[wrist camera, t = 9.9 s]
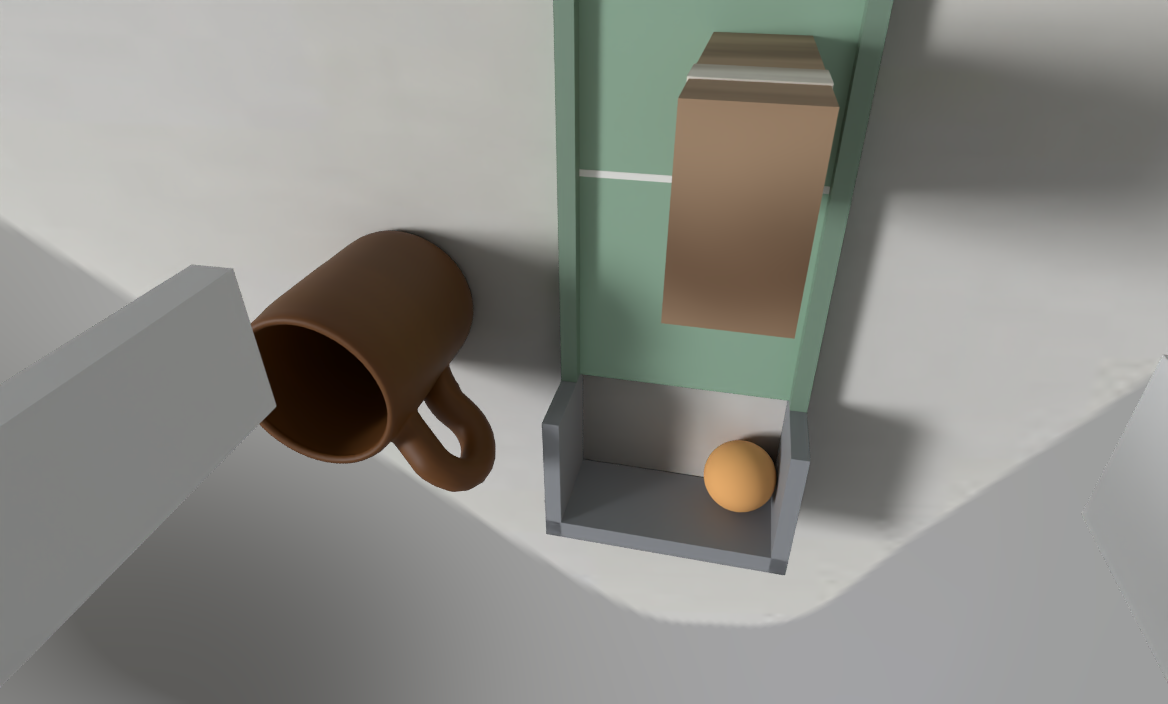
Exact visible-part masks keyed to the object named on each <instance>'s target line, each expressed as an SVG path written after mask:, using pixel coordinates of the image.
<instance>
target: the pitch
mask: <svg viewBox="0 0 1168 704" xmlns="http://www.w3.org/2000/svg"><path fill="white" fill-rule="evenodd" d="M893 1H894V0H553V15H554V62H555V108H556V154H557V201H558V247H559V293H560V340H561V383H560V385H559V387H558V389H557V391H556V394H555V396H554V398H553V400H552V402H551V405H550V407H549V409H548V411H547V413H546V416H545V418H544V420H543V422H542V438H543V463H544V487H545V511H546V534H550V535H555V536H561V537H567V538H573V539H578V540H584V541H590V542H596V543H601V544H607V545H613V546H619V547H624V548H630V549H636V550H642V551H648V552H653V553H659V554H665V555H671V556H676V557H682V558H688V559H694V560H699V561H705V562H711V563H717V564H722V565H728V566H734V567H740V568H745V569H751V570H757V571H763V572H768V573H774V574H780V575H785V573H786V569H787V564H788V560H789V555H790V551H791V546H792V542H793V537H794V533H795V528H796V524H797V520H798V515H799V511H800V506H801V502H802V497H803V493H804V488H805V484H806V479H807V475H808V470H809V466H810V449H809V434H808V420H807V410H808V405H809V401H810V396H811V391H812V386H813V382H814V377H815V372H816V367H817V363H818V358H819V353H820V348H821V344H822V339H823V334H824V329H825V324H826V320H827V315H828V310H829V305H830V301H831V296H832V291H833V286H834V282H835V277H836V272H837V267H838V263H839V258H840V253H841V248H842V244H843V239H844V234H845V229H846V224H847V220H848V215H849V210H850V205H851V201H852V196H853V191H854V186H855V182H856V177H857V172H858V167H859V163H860V158H861V153H862V148H863V144H864V139H865V134H866V129H867V124H868V120H869V115H870V110H871V105H872V101H873V96H874V91H875V86H876V82H877V77H878V72H879V67H880V63H881V58H882V53H883V48H884V44H885V39H886V34H887V29H888V25H889V20H890V15H891V10H892V5H893ZM713 32H731V33H757V34H784V35H810V36H813V37H814V40H815V43H816V45H817V48H818V51H819V53H820V56H821V59H822V62H823V64H824V67H825V70H829V72H830V75H831V78H832V80H833V83H834V86H833V91H834V94H835V97H836V99H837V102H838V105H839V112H838V117H837V122H836V127H835V132H834V138H833V143H832V148H831V153H830V158H829V163H828V169H827V174H826V179H825V184H824V189H823V194H822V200H821V205H820V210H819V215H818V220H817V225H816V230H815V236H814V241H813V246H812V251H811V256H810V261H809V267H808V272H807V277H806V282H805V287H804V292H803V298H802V303H801V308H800V313H799V318H798V323H797V329H796V334H795V339H792V338H783V337H775V336H766V335H758V334H749V333H741V332H732V331H724V330H715V329H706V328H698V327H689V326H681V325H672V324H664V323H661V316H662V303H663V290H664V277H665V263H666V250H667V237H668V224H669V211H670V197H671V184H672V171H673V158H674V144H675V131H676V118H677V105H678V97H679V95H680V94H681V92H682V90H683V88H684V86H685V84H686V81H687V75H688V73H689V72H690V70H691V68H692V66H693V64H697V62H698V60H699V58H700V56H701V55H702V53H703V51H704V49H705V47H706V45H707V43H708V41H709V40H710V38H711V36H712V34H713ZM583 375H591V376H599V377H607V378H615V379H622V380H630V381H638V382H646V383H654V384H662V385H670V386H677V387H685V388H693V389H701V390H709V391H717V392H725V393H733V394H740V395H748V396H756V397H764V398H772V399H780V400H788V401H787V407H786V412H785V417H784V423H783V428H782V433H781V438H780V444H779V449H778V454H777V460H776V465H775V469H776V476H777V479H776V486H775V489H774V492H773V494H772V496H771V497H770V499H769V500H768V501H767V502H766V503H765V504H764V505H763V506H761V507H760V508H758V509H756V510H753V511H749V512H734V511H730V510H727V509H725V508H723V507H722V506H720V505H719V504H717V503H716V502H715V501H714V500H713V499H712V497H711V496H710V494H709V493H708V491H707V488H706V486H705V482H704V478H703V477H697V476H690V475H684V474H677V473H670V472H664V471H657V470H650V469H644V468H637V467H631V466H624V465H617V464H611V463H604V462H598V461H591V460H584V459H583Z"/></svg>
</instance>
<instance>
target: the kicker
mask: <svg viewBox="0 0 1168 704" xmlns="http://www.w3.org/2000/svg"><path fill="white" fill-rule="evenodd" d="M833 86H834V83H833V80H832V78H831V75H830V72H829V70H825V67H824V64H823V62H822V59H821V56H820V53H819V51H818V48H817V45H816V43H815V40H814V37H813V36H810V35H784V34H757V33H731V32H713V34H712V36H711V38H710V40H709V41H708V43H707V45H706V47H705V49H704V51H703V53H702V55H701V56H700V58H699V60H698V62H697V64H693V66H692V68H691V70H690V72H689V73H688V75H687V81H686V84H685V86H684V88H683V90H682V92H681V94H680V95H679V97H678V105H677V118H676V131H675V144H674V158H673V171H672V184H671V197H670V211H669V224H668V237H667V250H666V263H665V277H664V290H663V303H662V316H661V323H664V324H672V325H681V326H689V327H698V328H706V329H715V330H724V331H732V332H741V333H749V334H758V335H766V336H775V337H783V338H792V339H795V334H796V329H797V323H798V318H799V313H800V308H801V303H802V298H803V292H804V287H805V282H806V277H807V272H808V267H809V261H810V256H811V251H812V246H813V241H814V236H815V230H816V225H817V220H818V215H819V210H820V205H821V200H822V194H823V189H824V184H825V179H826V174H827V169H828V163H829V158H830V153H831V148H832V143H833V138H834V132H835V127H836V122H837V117H838V112H839V105H838V102H837V99H836V97H835V94H834V91H833Z"/></svg>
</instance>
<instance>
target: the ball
mask: <svg viewBox="0 0 1168 704" xmlns="http://www.w3.org/2000/svg"><path fill="white" fill-rule="evenodd" d="M776 479H777V476H776V469H775V466H774V463H773V461H772V459H771V458H770V456H769V455H768V454H767V453H766V451H765V450H763V449H762V448H761V447H759V446H758V445H756V444H754V443H752V442H748V441H743V440H735V441H729V442H726V443H724V444H722V445H720V446H719V447H717V448H716V449H715V450H714V451H713V452H712V453H711V454H710V456H709V457H708V459H707V461H706V464H705V469H704V482H705V486H706V488H707V491H708V493H709V494H710V496H711V497H712V499H713V500H714V501H715V502H716V503H717V504H719V505H720V506H722V507H723V508H725V509H727V510H730V511H734V512H749V511H753V510H756V509H758V508H760V507H761V506H763V505H764V504H765V503H766V502H767V501H768V500H769V499H770V497H771V496H772V494H773V492H774V489H775V486H776Z"/></svg>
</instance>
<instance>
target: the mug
mask: <svg viewBox="0 0 1168 704" xmlns="http://www.w3.org/2000/svg"><path fill="white" fill-rule="evenodd" d="M472 320H473V301H472V296H471V292H470V289H469V286H468V284H467V282H466V279H465V277H464V276H463V274H462V272H461V270H460V269H459V268H458V266H457V265H456V264H455V262H454V261H453V260H452V259H451V258H450V257H449V256H448V255H447V254H446V253H445V252H444V251H443V250H441V249H440V248H439V247H437V246H436V245H434V244H433V243H431V242H429V241H427V240H426V239H423V238H421V237H419V236H416V235H413V234H409V233H406V232H400V231H379V232H375V233H371V234H368V235H366V236H363V237H361V238H359V239H357V240H356V241H354V242H353V243H351V244H350V245H348V246H347V247H345V248H344V249H343V250H341V251H340V252H339V253H337V254H336V255H335V256H333V257H332V258H331V259H329V260H328V261H327V262H325V263H324V264H322V265H321V266H320V267H318V268H317V269H316V270H314V271H313V272H312V273H310V274H309V275H308V276H306V277H305V278H304V279H303V280H301V281H300V282H299V283H297V284H296V285H295V286H293V287H292V288H291V289H290V290H288V291H287V292H286V293H284V294H283V295H282V296H280V297H279V298H278V299H276V300H275V301H274V302H273V303H272V304H271V305H269V306H268V307H267V308H266V309H265V310H264V311H263V312H262V313H261V314H260V315H259V316H258V317H257V318H256V319H255V320H254V321H253V322H252V323H251V327H252V330H253V333H254V336H255V340H256V343H257V346H258V349H259V352H260V355H261V359H262V362H263V365H264V368H265V371H266V374H267V378H268V381H269V384H270V387H271V390H272V393H273V397H274V400H275V403H276V407H275V408H274V409H273V411H272V412H271V413H270V414H269V415H268V416H267V417H266V418H265V419H264V420H263V421H262V422H261V423H260V425H261V426H262V427H263V428H264V429H265V430H266V431H267V432H268V433H269V434H270V435H271V436H273V437H274V438H275V439H277V440H278V441H279V442H281V443H282V444H284V445H286V446H287V447H289V448H291V449H292V450H294V451H296V452H298V453H300V454H303V455H305V456H307V457H310V458H313V459H316V460H320V461H324V462H331V463H355V462H359V461H363V460H365V459H368V458H370V457H372V456H374V455H376V454H377V453H379V452H381V451H382V450H383V449H384V448H385V447H386V446H387V445H388V444H389V443H390V442H393V443H394V444H395V446H396V447H397V448H398V449H399V451H400V452H401V453H402V455H403V456H404V458H405V459H406V460H407V462H408V463H409V464H410V465H411V467H412V468H413V470H414V471H415V472H416V473H417V474H418V475H419V476H420V477H421V478H422V479H424V480H425V481H427V482H429V483H431V484H432V485H434V486H436V487H439V488H442V489H445V490H448V491H451V492H457V491H467V490H470V489H472V488H473V487H475V486H477V485H479V484H480V483H482V482H484V480H485V479H486V477H487V476H488V474H489V473H490V471H491V470H492V468H493V464H494V461H495V439H494V434H493V431H492V429H491V426H490V424H489V422H488V420H487V419H486V417H485V415H484V414H483V413H482V411H481V410H480V409H479V408H478V407H477V406H476V405H475V404H474V403H473V402H472V401H471V400H470V399H469V398H468V397H467V396H466V395H465V394H464V393H463V392H462V391H461V389H460V387H459V384H458V383H457V382H456V380H455V378H454V376H453V374H452V372H451V370H450V367H449V364H450V362H451V361H452V359H453V358H454V357H455V355H456V354H457V352H458V351H459V350H460V348H461V347H462V345H463V344H464V342H465V340H466V338H467V336H468V334H469V331H470V328H471V324H472ZM423 400H424V401H425V403H426V405H427V406H428V408H429V409H430V411H431V412H432V413H433V414H434V415H435V416H436V418H437V419H438V420H439V421H441V422H442V423H443V424H444V425H446V426H447V427H448V428H449V429H450V430H451V431H452V432H453V433H454V434H455V435H456V437H457V438H458V440H459V443H460V446H461V457H460V458H458V457H456V456H454V455H452V454H450V453H449V452H448V451H447V450H446V449H445V448H444V446H443V445H442V444H441V443H440V441H439V440H438V439H437V437H436V436H435V435H434V433H433V432H432V431H431V429H430V428H429V427H428V425H427V424H426V423H425V421H424V420H423V419H422V417H421V416H420V414H419V413H418V407H419V406H420V405H421V403H422V402H423Z"/></svg>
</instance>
